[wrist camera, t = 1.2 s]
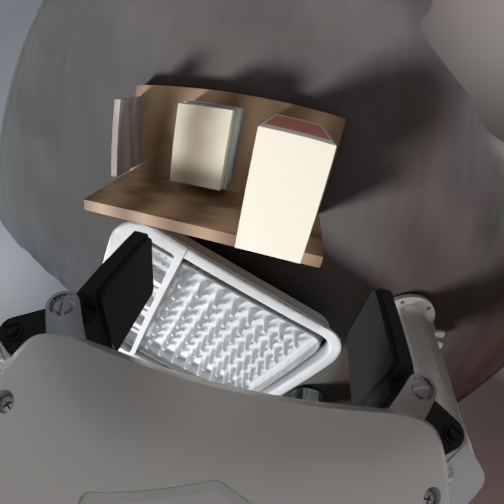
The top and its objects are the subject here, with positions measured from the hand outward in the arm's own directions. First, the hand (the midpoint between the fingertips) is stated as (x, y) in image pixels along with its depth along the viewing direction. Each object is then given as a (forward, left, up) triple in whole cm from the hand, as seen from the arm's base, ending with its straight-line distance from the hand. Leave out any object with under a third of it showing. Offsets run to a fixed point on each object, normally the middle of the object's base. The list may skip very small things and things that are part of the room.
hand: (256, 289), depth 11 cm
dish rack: (+6, +29, -26) cm, 39 cm away
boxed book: (0, 0, -23) cm, 23 cm away
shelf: (+7, 0, -25) cm, 26 cm away
